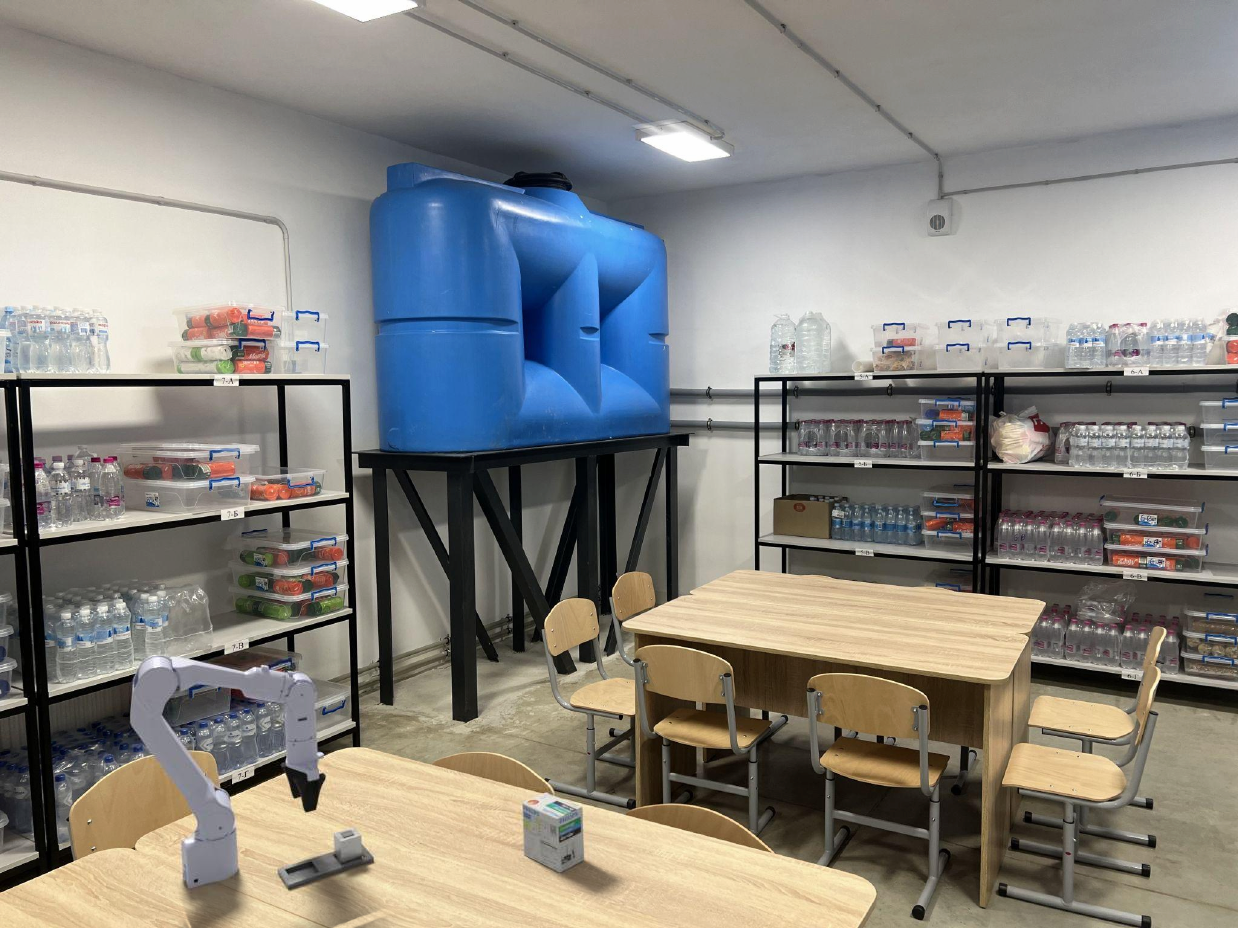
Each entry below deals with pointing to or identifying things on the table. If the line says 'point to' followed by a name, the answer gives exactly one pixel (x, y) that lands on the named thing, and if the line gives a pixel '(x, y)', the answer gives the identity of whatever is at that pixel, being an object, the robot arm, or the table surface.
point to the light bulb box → (553, 831)
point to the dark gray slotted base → (319, 868)
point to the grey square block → (347, 846)
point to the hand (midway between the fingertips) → (304, 803)
